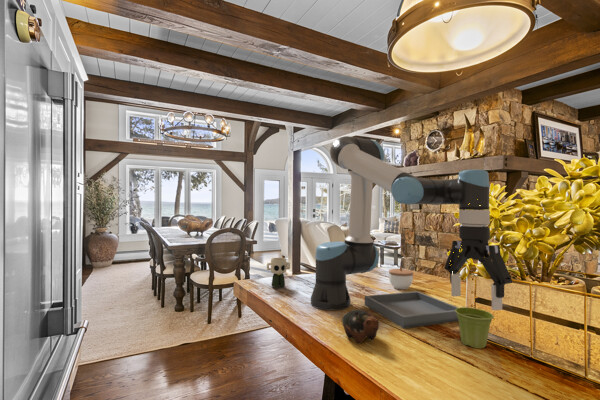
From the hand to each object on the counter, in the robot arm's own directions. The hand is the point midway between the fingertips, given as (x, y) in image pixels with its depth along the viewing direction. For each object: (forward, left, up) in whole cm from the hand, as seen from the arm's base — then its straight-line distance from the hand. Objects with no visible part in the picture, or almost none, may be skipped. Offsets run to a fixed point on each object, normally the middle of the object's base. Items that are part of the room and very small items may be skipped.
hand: (475, 302), depth 89 cm
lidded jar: (+17, +57, -12) cm, 61 cm away
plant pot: (0, 0, -12) cm, 12 cm away
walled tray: (0, +27, -12) cm, 30 cm away
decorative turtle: (-29, +13, -12) cm, 34 cm away
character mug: (-37, +74, -12) cm, 84 cm away
